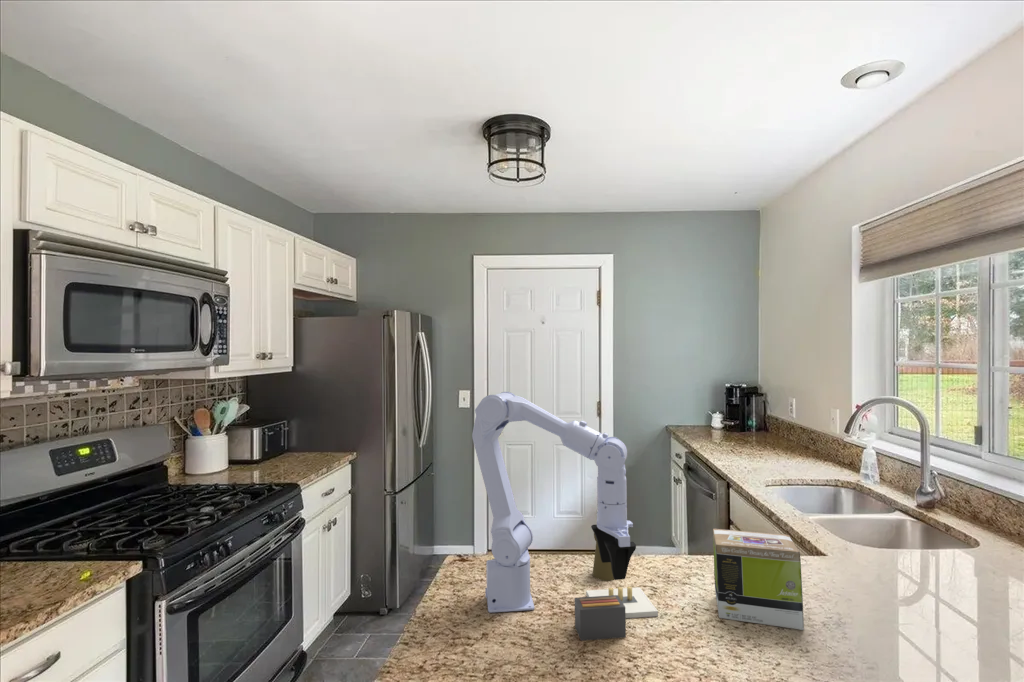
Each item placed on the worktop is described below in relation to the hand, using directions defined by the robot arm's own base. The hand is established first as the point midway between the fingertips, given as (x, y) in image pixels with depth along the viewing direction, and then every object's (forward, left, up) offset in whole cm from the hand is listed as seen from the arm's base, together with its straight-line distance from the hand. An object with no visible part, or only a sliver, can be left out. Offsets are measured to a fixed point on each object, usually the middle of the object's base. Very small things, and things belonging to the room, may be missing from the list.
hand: (612, 569), depth 96 cm
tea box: (+29, -1, -10) cm, 31 cm away
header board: (+3, +5, -10) cm, 11 cm away
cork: (+4, +19, -10) cm, 22 cm away
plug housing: (-4, -4, -10) cm, 11 cm away
